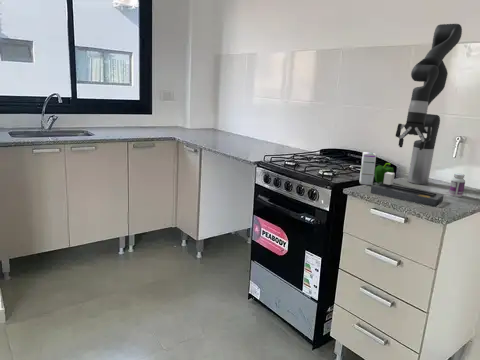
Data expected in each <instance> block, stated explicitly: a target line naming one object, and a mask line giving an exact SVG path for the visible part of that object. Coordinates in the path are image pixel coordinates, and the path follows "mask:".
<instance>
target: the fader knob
mask: <svg viewBox="0 0 480 360" xmlns="http://www.w3.org/2000/svg"><path fill="white" fill-rule="evenodd" d="M395 174H396V173H395V172H393V173H391V172H387V173H385V175H384V182H383V184H386V185H389V186H390V185H391V184H394V182H395V181H394V180H395Z"/></svg>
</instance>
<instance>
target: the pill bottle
mask: <svg viewBox="0 0 480 360" xmlns="http://www.w3.org/2000/svg"><path fill="white" fill-rule="evenodd" d="M465 184H466V180H465V174H463V173H457V172H455V173H454V174H453V177H452V178H451V181H450V186H449V191H448V195H449V196H451V197H456V198H461V197H463V195H464V190H465Z"/></svg>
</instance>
